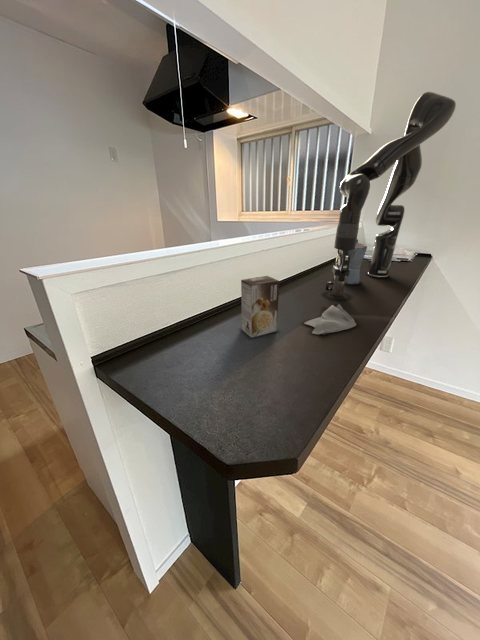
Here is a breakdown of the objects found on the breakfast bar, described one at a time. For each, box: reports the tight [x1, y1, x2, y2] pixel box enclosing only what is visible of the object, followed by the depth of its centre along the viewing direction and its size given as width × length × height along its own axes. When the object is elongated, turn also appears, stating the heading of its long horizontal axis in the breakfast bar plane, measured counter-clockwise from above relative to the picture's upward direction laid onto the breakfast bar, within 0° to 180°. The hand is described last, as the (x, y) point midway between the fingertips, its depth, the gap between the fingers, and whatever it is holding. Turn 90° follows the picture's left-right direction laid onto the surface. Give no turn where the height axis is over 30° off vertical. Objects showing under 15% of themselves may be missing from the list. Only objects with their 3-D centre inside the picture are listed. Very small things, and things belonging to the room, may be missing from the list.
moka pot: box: [345, 238, 368, 285], centre depth 120 cm, size 10×15×20 cm, turn 158°
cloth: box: [303, 303, 357, 336], centre depth 86 cm, size 26×14×2 cm, turn 139°
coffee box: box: [240, 275, 280, 339], centre depth 77 cm, size 9×6×16 cm
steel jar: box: [325, 265, 350, 297], centre depth 105 cm, size 7×5×11 cm
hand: (339, 278), depth 105 cm, fingers open, 7 cm apart
